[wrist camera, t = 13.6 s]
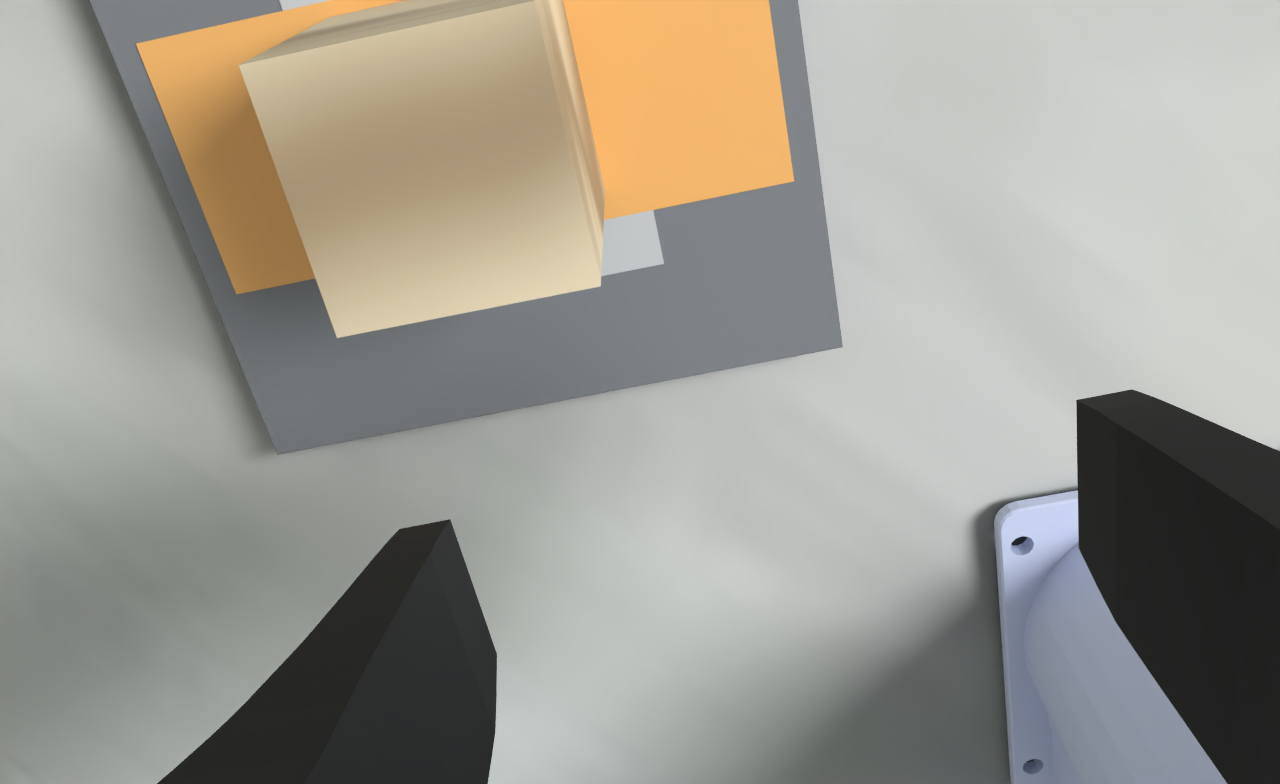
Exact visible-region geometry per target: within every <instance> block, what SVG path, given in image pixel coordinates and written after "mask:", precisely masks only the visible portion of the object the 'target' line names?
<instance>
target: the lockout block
mask: <svg viewBox="0 0 1280 784" xmlns="http://www.w3.org/2000/svg"><path fill="white" fill-rule="evenodd" d="M239 68H240V70H241V73H242V76H243V79H244V81H245V84H246V87H247V90H248V92H249V95H250V98H251V101H252V104H253V106H254V109H255V112H256V115H257V117H258V120H259V123H260V126H261V129H262V131H263V134H264V137H265V140H266V142H267V145H268V148H269V151H270V153H271V156H272V159H273V162H274V165H275V167H276V170H277V173H278V176H279V178H280V181H281V184H282V187H283V190H284V192H285V195H286V198H287V201H288V203H289V206H290V209H291V212H292V214H293V217H294V220H295V223H296V226H297V228H298V231H299V234H300V237H301V239H302V242H303V245H304V248H305V251H306V253H307V256H308V259H309V262H310V264H311V267H312V270H313V273H314V275H315V278H316V281H317V284H318V287H319V289H320V292H321V295H322V298H323V300H324V303H325V306H326V309H327V311H328V314H329V317H330V320H331V323H332V325H333V328H334V331H335V334H336V336H337V338H340V337H345V336H350V335H355V334H360V333H365V332H370V331H375V330H381V329H386V328H391V327H396V326H401V325H406V324H411V323H416V322H421V321H426V320H432V319H437V318H442V317H447V316H452V315H457V314H462V313H467V312H472V311H478V310H483V309H488V308H493V307H498V306H503V305H508V304H513V303H518V302H523V301H529V300H534V299H539V298H544V297H549V296H554V295H559V294H564V293H569V292H574V291H580V290H585V289H590V288H595V287H600V286H601V271H602V250H603V230H604V209H605V187H604V183H603V178H602V174H601V169H600V165H599V160H598V156H597V151H596V147H595V142H594V138H593V133H592V129H591V124H590V120H589V115H588V111H587V106H586V102H585V97H584V92H583V88H582V83H581V79H580V74H579V70H578V65H577V61H576V56H575V52H574V47H573V43H572V38H571V34H570V29H569V25H568V20H567V16H566V11H565V7H564V2H563V0H404V1H399V2H394V3H390V4H385V5H381V6H376V7H372V8H367V9H363V10H358V11H353V12H349V13H344V14H340V15H335V16H331V17H329V18H327V19H326V20H324V21H322V22H320V23H318V24H316V25H314V26H312V27H310V28H308V29H306V30H305V31H303V32H301V33H299V34H297V35H295V36H293V37H291V38H289V39H287V40H285V41H284V42H282V43H280V44H278V45H276V46H274V47H272V48H270V49H268V50H266V51H264V52H263V53H261V54H259V55H257V56H255V57H253V58H251V59H249V60H247V61H245V62H243V63H242V64H240V65H239Z"/></svg>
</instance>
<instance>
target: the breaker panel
mask: <svg viewBox="0 0 1280 784" xmlns="http://www.w3.org/2000/svg"><path fill="white" fill-rule="evenodd" d="M399 1H404V0H90V3H91V5H92V8H93V10H94V12H95V15H96V17H97V20H98V22H99V24H100V27H101V29H102V32H103V34H104V37H105V39H106V41H107V44H108V46H109V49H110V51H111V53H112V56H113V58H114V61H115V63H116V66H117V68H118V70H119V73H120V75H121V78H122V80H123V83H124V85H125V87H126V90H127V92H128V95H129V97H130V99H131V102H132V104H133V107H134V109H135V112H136V114H137V116H138V119H139V121H140V124H141V126H142V129H143V131H144V133H145V136H146V138H147V141H148V143H149V145H150V148H151V150H152V153H153V155H154V158H155V160H156V162H157V165H158V167H159V170H160V172H161V175H162V177H163V179H164V182H165V184H166V187H167V189H168V191H169V194H170V196H171V199H172V201H173V204H174V206H175V208H176V211H177V213H178V216H179V218H180V220H181V223H182V225H183V228H184V230H185V233H186V235H187V237H188V240H189V242H190V245H191V247H192V250H193V252H194V254H195V257H196V259H197V262H198V264H199V266H200V269H201V271H202V274H203V276H204V279H205V281H206V283H207V286H208V288H209V291H210V293H211V296H212V298H213V300H214V303H215V305H216V308H217V310H218V312H219V315H220V317H221V320H222V322H223V325H224V327H225V329H226V332H227V334H228V337H229V339H230V342H231V344H232V346H233V349H234V351H235V354H236V356H237V358H238V361H239V363H240V366H241V368H242V371H243V373H244V375H245V378H246V380H247V383H248V385H249V388H250V390H251V392H252V395H253V397H254V400H255V402H256V404H257V407H258V409H259V412H260V414H261V417H262V419H263V421H264V424H265V426H266V429H267V431H268V433H269V436H270V438H271V441H272V443H273V446H274V448H275V450H276V453H277V455H278V454H283V453H289V452H294V451H299V450H304V449H310V448H315V447H320V446H325V445H331V444H336V443H341V442H347V441H352V440H357V439H362V438H368V437H373V436H378V435H383V434H389V433H394V432H399V431H404V430H410V429H415V428H420V427H425V426H431V425H436V424H441V423H446V422H452V421H457V420H462V419H467V418H473V417H478V416H483V415H488V414H494V413H499V412H504V411H510V410H515V409H520V408H525V407H531V406H536V405H541V404H546V403H552V402H557V401H562V400H567V399H573V398H578V397H583V396H588V395H594V394H599V393H604V392H609V391H615V390H620V389H625V388H630V387H636V386H641V385H646V384H651V383H657V382H662V381H667V380H672V379H678V378H683V377H688V376H694V375H699V374H704V373H709V372H715V371H720V370H725V369H730V368H736V367H741V366H746V365H751V364H757V363H762V362H767V361H772V360H778V359H783V358H788V357H793V356H799V355H804V354H809V353H814V352H820V351H825V350H830V349H835V348H841V347H843V346H842V339H841V331H840V323H839V315H838V308H837V300H836V292H835V284H834V277H833V269H832V261H831V254H830V246H829V238H828V230H827V223H826V215H825V207H824V199H823V192H822V184H821V176H820V168H819V161H818V153H817V145H816V138H815V130H814V122H813V114H812V107H811V99H810V91H809V83H808V76H807V68H806V60H805V53H804V45H803V37H802V29H801V22H800V14H799V6H798V0H563V2H564V7H565V11H566V16H567V20H568V25H569V29H570V34H571V38H572V43H573V47H574V52H575V56H576V61H577V65H578V70H579V74H580V79H581V83H582V88H583V92H584V97H585V102H586V106H587V111H588V115H589V120H590V124H591V129H592V133H593V138H594V142H595V147H596V151H597V156H598V160H599V165H600V169H601V174H602V178H603V183H604V187H605V209H604V230H603V250H602V271H601V286H600V287H595V288H590V289H585V290H580V291H574V292H569V293H564V294H559V295H554V296H549V297H544V298H539V299H534V300H529V301H523V302H518V303H513V304H508V305H503V306H498V307H493V308H488V309H483V310H478V311H472V312H467V313H462V314H457V315H452V316H447V317H442V318H437V319H432V320H426V321H421V322H416V323H411V324H406V325H401V326H396V327H391V328H386V329H381V330H375V331H370V332H365V333H360V334H355V335H350V336H345V337H340V338H337V336H336V334H335V331H334V328H333V325H332V323H331V320H330V317H329V314H328V311H327V309H326V306H325V303H324V300H323V298H322V295H321V292H320V289H319V287H318V284H317V281H316V278H315V275H314V273H313V270H312V267H311V264H310V262H309V259H308V256H307V253H306V251H305V248H304V245H303V242H302V239H301V237H300V234H299V231H298V228H297V226H296V223H295V220H294V217H293V214H292V212H291V209H290V206H289V203H288V201H287V198H286V195H285V192H284V190H283V187H282V184H281V181H280V178H279V176H278V173H277V170H276V167H275V165H274V162H273V159H272V156H271V153H270V151H269V148H268V145H267V142H266V140H265V137H264V134H263V131H262V129H261V126H260V123H259V120H258V117H257V115H256V112H255V109H254V106H253V104H252V101H251V98H250V95H249V92H248V90H247V87H246V84H245V81H244V79H243V76H242V73H241V70H240V68H239V65H240V64H242V63H243V62H245V61H247V60H249V59H251V58H253V57H255V56H257V55H259V54H261V53H263V52H264V51H266V50H268V49H270V48H272V47H274V46H276V45H278V44H280V43H282V42H284V41H285V40H287V39H289V38H291V37H293V36H295V35H297V34H299V33H301V32H303V31H305V30H306V29H308V28H310V27H312V26H314V25H316V24H318V23H320V22H322V21H324V20H326V19H327V18H329V17H331V16H335V15H340V14H344V13H349V12H353V11H358V10H363V9H367V8H372V7H376V6H381V5H385V4H390V3H394V2H399Z"/></svg>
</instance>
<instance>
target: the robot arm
mask: <svg viewBox="0 0 1280 784" xmlns="http://www.w3.org/2000/svg"><path fill="white" fill-rule="evenodd" d="M1077 464H1078V490H1077V491H1071V492H1065V493H1060V494H1054V495H1048V496H1043V497H1037V498H1031V499H1026V500H1020V501H1015V502H1012V503H1009V504H1006V505H1005V506H1004V507H1002V508H1001V509H1000V510H999V511H998V513H997V514H996V516H995V521H994V529H995V544H996V560H997V576H998V591H999V607H1000V622H1001V638H1002V654H1003V669H1004V685H1005V700H1006V716H1007V732H1008V747H1009V763H1010V778H1011V784H1280V451H1277V450H1275V449H1273V448H1270V447H1268V446H1266V445H1263V444H1261V443H1258V442H1256V441H1254V440H1252V439H1249V438H1247V437H1245V436H1242V435H1240V434H1238V433H1235V432H1233V431H1231V430H1229V429H1226V428H1224V427H1222V426H1219V425H1217V424H1215V423H1213V422H1210V421H1208V420H1206V419H1204V418H1201V417H1199V416H1197V415H1194V414H1192V413H1190V412H1188V411H1185V410H1183V409H1181V408H1178V407H1176V406H1174V405H1171V404H1169V403H1166V402H1164V401H1162V400H1159V399H1157V398H1154V397H1151V396H1149V395H1146V394H1143V393H1141V392H1138V391H1135V390H1127V391H1122V392H1117V393H1112V394H1106V395H1101V396H1096V397H1091V398H1085V399H1080V400H1077ZM1021 536H1025V537H1027V539H1026V540H1025V541H1024V542H1023V543H1022V544H1019V545H1011V543H1012V542H1013V541H1014V540H1015V539H1016V538H1019V537H1021ZM496 674H497V653H496V651H495V648H494V645H493V642H492V639H491V636H490V633H489V630H488V627H487V625H486V622H485V619H484V616H483V613H482V610H481V607H480V604H479V601H478V599H477V596H476V593H475V590H474V587H473V584H472V581H471V578H470V575H469V573H468V570H467V567H466V564H465V561H464V558H463V555H462V552H461V549H460V547H459V544H458V541H457V538H456V535H455V532H454V529H453V526H452V523H451V521H450V520H445V521H440V522H435V523H429V524H424V525H419V526H414V527H408V528H403V529H399V530H398V531H397V532H396V533H395V535H394V536H393V537H392V538H391V539H390V540H389V541H388V542H387V543H386V544H385V546H384V547H383V548H382V549H381V550H380V551H379V553H378V554H377V555H376V556H375V557H374V558H373V560H372V561H371V562H370V563H369V564H368V566H367V567H366V568H365V569H364V570H363V572H362V573H361V574H360V575H359V576H358V578H357V579H356V580H355V581H354V582H353V584H352V585H351V586H350V587H349V588H348V590H347V591H346V592H345V593H344V594H343V596H342V597H341V598H340V599H339V600H338V601H337V603H336V604H335V605H334V606H333V607H332V608H331V610H330V611H329V612H328V613H327V614H326V615H325V617H324V618H323V619H322V620H321V621H320V623H319V624H318V625H317V626H316V627H315V628H314V630H313V631H312V632H311V633H310V634H309V635H308V637H307V638H306V639H305V640H304V641H303V642H302V643H301V644H300V645H299V647H298V648H297V649H296V650H295V651H294V652H293V653H292V654H291V655H290V656H289V657H288V658H287V659H286V660H285V661H284V662H283V664H282V665H281V666H280V667H279V668H278V669H277V670H276V671H275V672H274V673H273V674H272V675H271V676H270V677H269V678H268V680H267V681H266V682H265V683H264V684H263V685H262V686H261V687H260V688H259V689H258V690H257V691H256V692H255V693H254V694H253V695H252V697H251V698H250V699H249V700H248V701H247V702H246V703H245V704H244V705H243V706H242V707H241V708H240V709H239V710H238V711H237V712H236V713H235V714H234V715H233V716H232V717H231V718H230V719H229V720H228V721H227V722H225V723H224V724H223V725H222V726H221V727H220V728H219V729H218V730H217V731H216V732H215V733H214V734H213V735H212V736H211V737H210V738H208V739H207V740H206V741H205V742H204V743H203V744H202V745H201V746H200V747H198V748H197V749H196V750H195V751H194V752H193V753H192V754H191V755H189V756H188V757H187V758H186V759H185V760H184V761H183V762H182V763H180V764H179V765H178V766H177V767H176V768H175V769H174V770H173V771H171V772H170V773H169V774H168V775H167V776H166V777H164V778H163V779H162V780H161V781H160V782H158V783H157V784H487V783H488V777H489V770H490V764H491V757H492V750H493V743H494V736H495V721H496ZM1032 759H1035V760H1034V761H1031V762H1027V761H1029V760H1032Z"/></svg>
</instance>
